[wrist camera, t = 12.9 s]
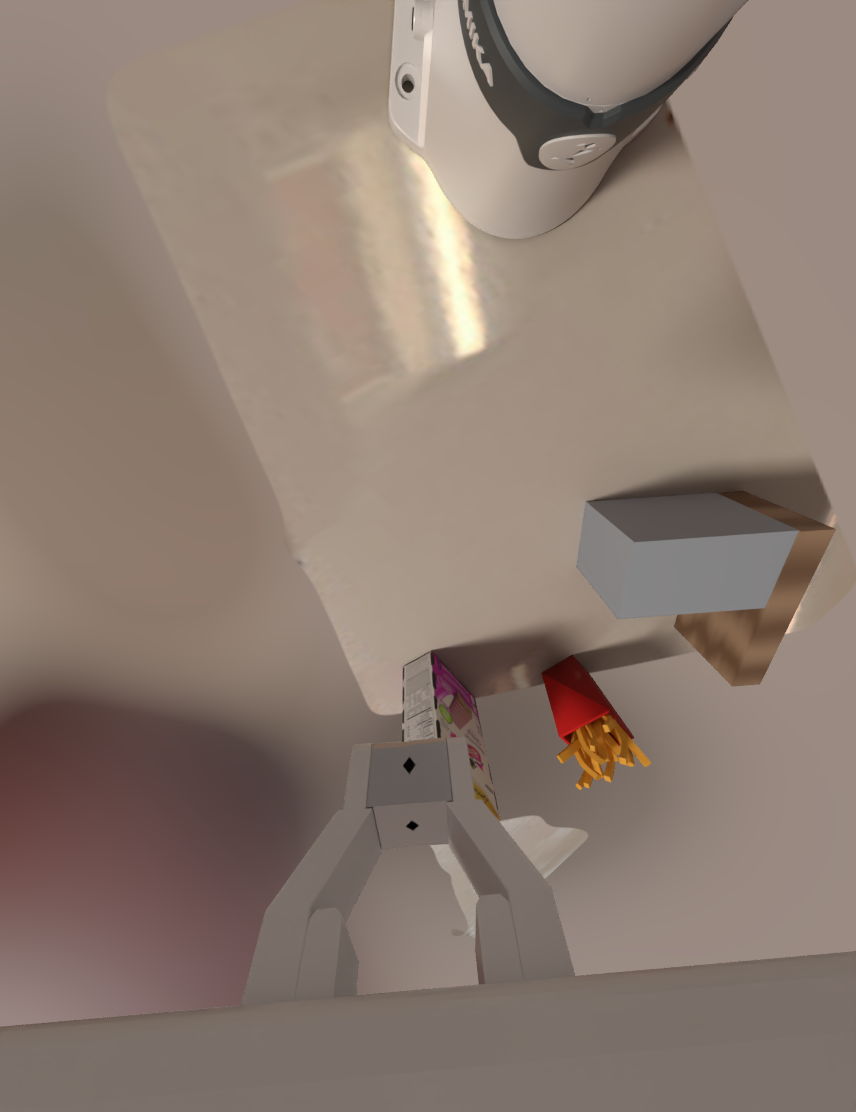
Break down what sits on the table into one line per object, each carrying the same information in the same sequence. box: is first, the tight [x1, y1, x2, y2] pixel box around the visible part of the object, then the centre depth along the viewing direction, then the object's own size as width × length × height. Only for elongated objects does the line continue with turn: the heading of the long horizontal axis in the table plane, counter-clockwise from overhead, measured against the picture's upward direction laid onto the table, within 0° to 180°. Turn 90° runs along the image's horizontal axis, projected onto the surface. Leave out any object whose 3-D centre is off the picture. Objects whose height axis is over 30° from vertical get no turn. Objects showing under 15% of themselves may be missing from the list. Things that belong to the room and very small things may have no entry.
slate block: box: [576, 492, 799, 619], centre depth 38 cm, size 8×14×10 cm, turn 93°
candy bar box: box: [402, 651, 500, 821], centre depth 45 cm, size 11×5×16 cm, turn 35°
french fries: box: [542, 655, 651, 790], centre depth 46 cm, size 9×8×15 cm
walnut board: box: [674, 491, 836, 686], centre depth 41 cm, size 18×3×10 cm, turn 3°
